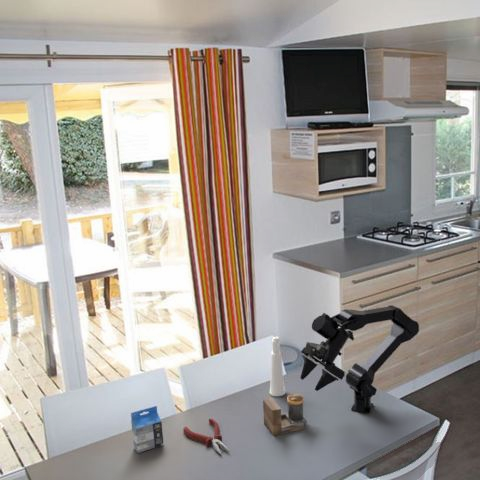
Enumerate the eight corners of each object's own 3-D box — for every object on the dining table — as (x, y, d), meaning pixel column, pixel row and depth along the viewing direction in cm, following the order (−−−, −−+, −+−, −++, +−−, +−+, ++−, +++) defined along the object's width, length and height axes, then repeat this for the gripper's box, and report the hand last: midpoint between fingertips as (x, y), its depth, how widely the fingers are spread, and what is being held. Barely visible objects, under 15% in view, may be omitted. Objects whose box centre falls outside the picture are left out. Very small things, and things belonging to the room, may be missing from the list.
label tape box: (137, 453, 182) (134, 418, 179) (133, 447, 185) (130, 412, 182) (164, 445, 185) (161, 410, 183) (159, 439, 189) (156, 405, 186)
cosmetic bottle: (266, 392, 217) (264, 337, 213) (278, 387, 221) (276, 333, 216) (276, 398, 213) (274, 341, 208) (288, 393, 216) (287, 337, 211)
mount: (295, 416, 199) (294, 392, 197) (305, 428, 192) (304, 403, 190) (263, 424, 195) (263, 399, 193) (273, 436, 188) (272, 410, 186)
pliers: (209, 463, 176) (208, 455, 175) (182, 433, 193) (181, 426, 192) (242, 451, 181) (241, 443, 181) (212, 423, 199) (212, 416, 198)
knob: (299, 414, 198) (298, 392, 196) (307, 422, 193) (306, 400, 191) (284, 417, 196) (284, 395, 195) (292, 426, 191) (291, 403, 189)
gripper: (303, 324, 198) (278, 363, 196) (333, 343, 181) (306, 385, 180) (324, 339, 202) (300, 377, 201) (356, 358, 186) (330, 400, 184)
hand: (308, 384), depth 191 cm, fingers open, 9 cm apart
